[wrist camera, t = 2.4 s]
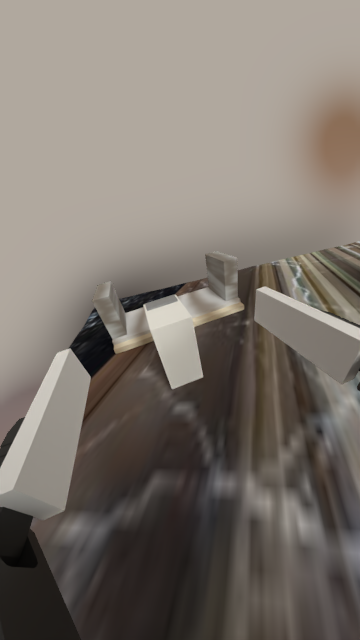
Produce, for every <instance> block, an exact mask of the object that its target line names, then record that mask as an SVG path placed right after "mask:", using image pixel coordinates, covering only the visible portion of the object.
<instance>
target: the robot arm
mask: <svg viewBox="0 0 360 640" xmlns="http://www.w3.org/2000/svg"><path fill="white" fill-rule="evenodd" d="M254 321H256V322H257V323H259V324H260V325H261V326H263V327H264V328H265V329H267V330H268V331H269V332H271V333H272V334H274V335H275V336H276V337H278V338H279V339H280V340H282V341H283V342H284V343H286V344H287V345H289V346H290V347H291V348H293V349H294V350H295V351H297V352H298V353H299V354H301V355H302V356H304V357H305V358H306V359H308V360H309V361H310V362H312V363H313V364H314V365H316V366H317V367H319V368H320V369H321V370H323V371H324V372H325V373H327V374H328V375H329V376H331V377H332V378H334V379H335V380H336V381H338V382H339V383H340V384H344V383H346V382H348V381H351V380H353V379H354V378H355V376H356V375H357V373H358V371H360V325H358V324H356V323H353V322H349V320H346V319H344V318H341V317H339V316H337V315H335V314H333V313H330V312H326V311H322V310H317V309H315V308H313V307H311V306H308V305H306V304H304V303H302V302H299V301H297V300H295V299H293V298H290V297H288V296H286V295H283V294H281V293H279V292H277V291H274V290H272V289H270V288H268V287H262V288H259V289H256V301H255V317H254ZM90 379H91V377H90V375H89V374H88V373H87V371H86V370H85V368H84V367H83V366H82V364H81V363H80V361H79V360H78V359H77V357H76V356H75V354H74V353H73V352H72V350H71V349H67V350H64V351H61V352H58V353H57V354H56V356H55V358H54V360H53V362H52V364H51V366H50V368H49V370H48V372H47V375H46V376H45V378H44V380H43V382H42V384H41V386H40V388H39V390H38V392H37V394H36V396H35V399H34V400H33V403H32V405H31V407H30V409H29V411H28V413H27V415H26V417H24V418H21V419H19V420H18V421H17V422H16V424H15V425H14V426H13V427H12V428H11V430H10V431H9V432H8V433H7V436H6V437H5V439H4V441H3V443H2V445H1V449H0V640H81V639H80V636H79V634H78V632H77V630H76V627H75V625H74V623H73V620H72V618H71V616H70V614H69V611H68V609H67V607H66V604H65V602H64V600H63V598H62V595H61V593H60V591H59V588H58V586H57V584H56V581H55V579H54V577H53V575H52V572H51V570H50V568H49V565H48V563H47V561H46V559H45V556H44V554H43V552H42V549H41V547H40V545H39V543H38V540H37V538H36V536H35V533H34V532H33V531H32V530H31V529H30V526H31V522H32V519H33V517H34V518H37V519H40V520H45V519H47V518H50V517H52V516H54V515H56V514H58V513H61V512H63V511H65V507H66V502H67V497H68V492H69V487H70V481H71V476H72V471H73V466H74V461H75V456H76V451H77V446H78V441H79V436H80V430H81V425H82V420H83V415H84V410H85V405H86V400H87V395H88V390H89V385H90ZM357 389H358V390H359V391H360V383H359V384H358V386H357Z"/></svg>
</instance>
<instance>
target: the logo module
mask: <svg viewBox="0 0 360 640" xmlns="http://www.w3.org/2000/svg"><path fill="white" fill-rule="evenodd" d="M143 306H144V309H145V313H146V317H147V320H148V324H149V328H150V331H151V334H152V337H153V339H154V342H155V345H156V348H157V350H158V353H159V356H160V358H161V361H162V364H163V367H164V369H165V372H166V375H167V377H168V380H169V383H170V385H171V388H172V389H174V388H177V387H179V386H182V385H184V384H187V383H189V382H192V381H194V380H197V379H200V378H202V377H203V373H202V367H201V362H200V357H199V352H198V346H197V341H196V336H195V330H194V325H193V320H192V316H191V315H190V313H189V312H188V311H187V309H186V308H185V307H184V305H183V304H182V303H181V301H180V300H179V299H178V297H177V296H176V295H171V296H168V297H165V298H162V299H159V300H155V301H152V302H149V303H146V304H145V305H143Z"/></svg>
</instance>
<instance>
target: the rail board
mask: <svg viewBox="0 0 360 640" xmlns="http://www.w3.org/2000/svg"><path fill="white" fill-rule="evenodd" d="M205 256H206V264H207V274H208V283H209V287H207V288H204V289H200V290H197V291H194V292H191V293H188V294H185V295H181V296H178V299H179V300H180V301H181V303H182V304H183V305H184V307H185V308H186V309H187V311H188V312H189V313H190V315H191V316H192V320H193V325H194V327H195V326H198V325H201V324H204V323H207V322H210V321H212V320H215V319H218V318H221V317H224V316H227V315H230V314H233V313H235V312H238V311H241V310H244V304H242V303H241V302H240V299H239V298H238V273H237V258H236V257H233V256H230V255H227V254H223V253H221V252H217V251H216V252H212V253H209V254H206V255H205ZM92 302H93V304H94V306H95V308H96V310H97V311H98V313H99V315H100V317H101V319H102V321H103V322H104V324H105V326H106V328H107V330H108V332H109V334H110V335H111V337H112V339H113V344H114V351H115V353H116V354H118V353H121V352H124V351H126V350H129V349H132V348H135V347H138V346H141V345H144V344H147V343H149V342H152V341H154V339H153V337H152V334H151V331H150V328H149V324H148V320H147V317H146V313H145V309H144V308H140V309H137V310H134V311H131V312H128V313H125V312H124V309H123V307H122V305H121V303H120V300H119V298H118V296H117V294H116V291H115V289H114V287H113V285H112V282H107V283H104V284H101V285H98V286H97V288H96V291H95V294H94V297H93V299H92Z"/></svg>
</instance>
